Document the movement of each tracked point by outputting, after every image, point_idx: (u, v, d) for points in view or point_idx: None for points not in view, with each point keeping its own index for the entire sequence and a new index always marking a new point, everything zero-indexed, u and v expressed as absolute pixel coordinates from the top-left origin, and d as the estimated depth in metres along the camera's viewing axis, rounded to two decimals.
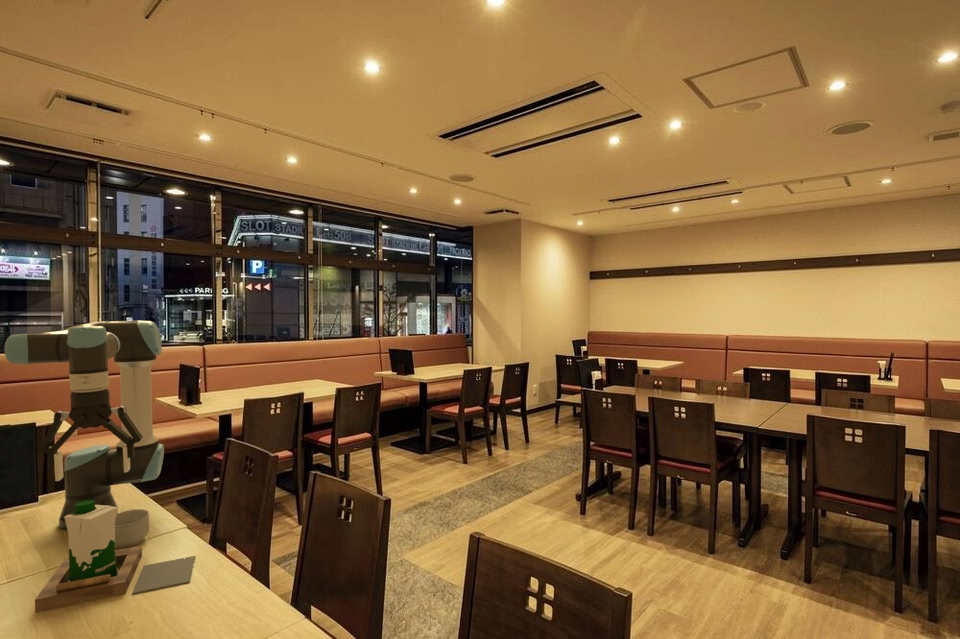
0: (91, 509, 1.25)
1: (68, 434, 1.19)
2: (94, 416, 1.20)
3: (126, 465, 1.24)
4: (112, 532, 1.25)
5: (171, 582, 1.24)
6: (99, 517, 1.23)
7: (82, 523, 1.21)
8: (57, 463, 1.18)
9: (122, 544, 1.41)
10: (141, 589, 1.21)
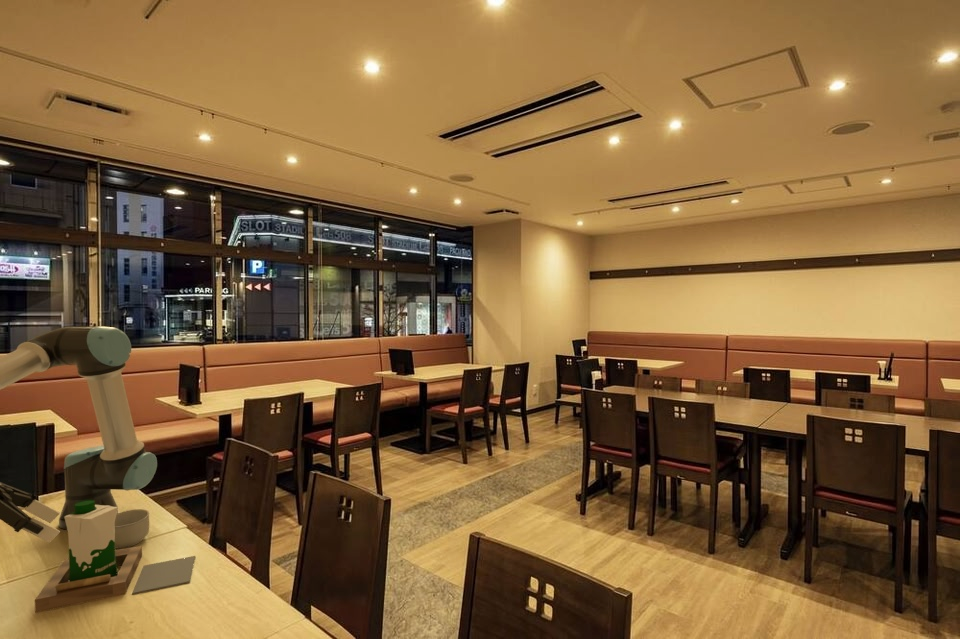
0: (91, 509, 1.25)
1: None
2: None
3: (42, 538, 1.13)
4: (112, 532, 1.25)
5: (171, 582, 1.24)
6: (99, 517, 1.23)
7: (82, 523, 1.21)
8: None
9: (122, 544, 1.41)
10: (141, 589, 1.21)
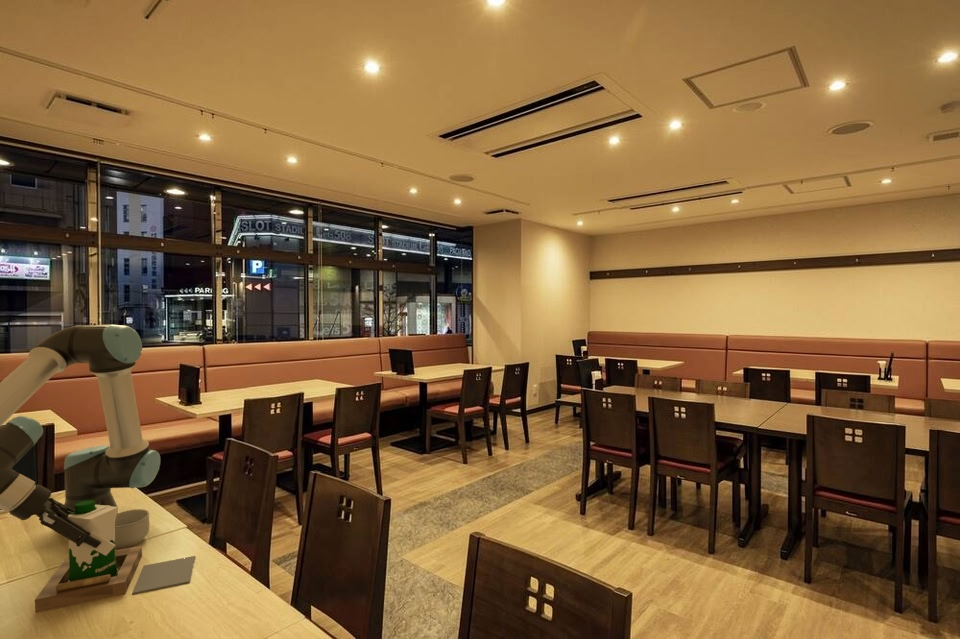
0: (91, 509, 1.25)
1: None
2: None
3: (100, 551, 1.22)
4: (112, 532, 1.25)
5: (171, 582, 1.24)
6: (99, 517, 1.22)
7: (82, 523, 1.21)
8: None
9: (122, 544, 1.41)
10: (141, 589, 1.21)
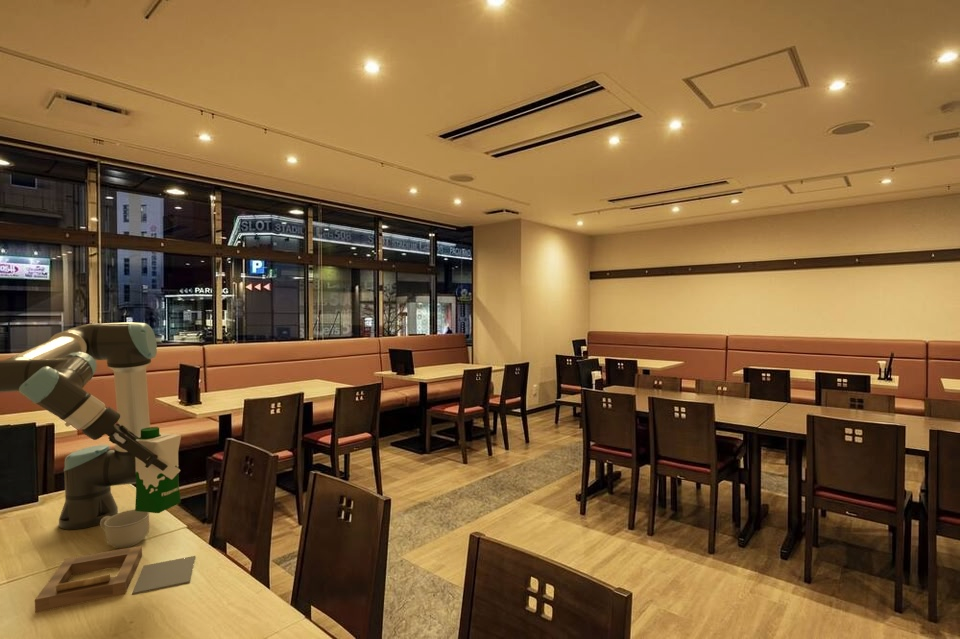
0: (156, 435, 1.27)
1: None
2: None
3: (166, 475, 1.24)
4: (176, 458, 1.27)
5: (171, 582, 1.24)
6: (165, 441, 1.24)
7: (149, 446, 1.22)
8: None
9: (122, 544, 1.41)
10: (141, 589, 1.21)
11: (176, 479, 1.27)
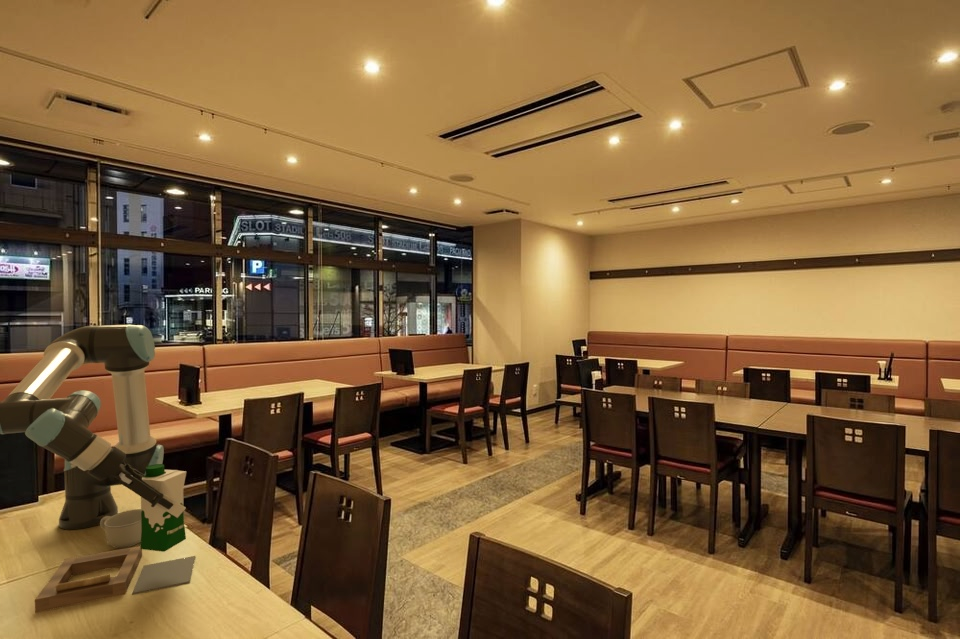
0: (161, 472, 1.27)
1: None
2: None
3: (171, 513, 1.24)
4: (182, 495, 1.27)
5: (171, 582, 1.24)
6: (170, 479, 1.25)
7: (155, 485, 1.23)
8: None
9: (122, 544, 1.41)
10: (141, 589, 1.21)
11: (181, 516, 1.27)
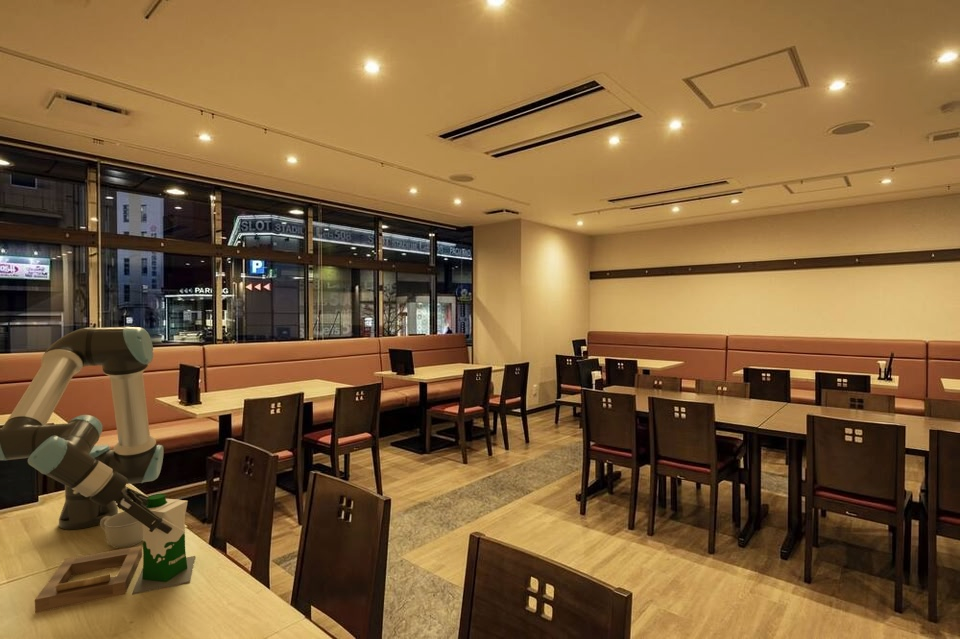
0: (163, 503, 1.27)
1: None
2: (118, 506, 1.21)
3: (170, 538, 1.23)
4: (183, 525, 1.28)
5: (171, 582, 1.24)
6: (172, 510, 1.25)
7: None
8: None
9: (122, 544, 1.41)
10: (141, 589, 1.21)
11: (183, 546, 1.28)
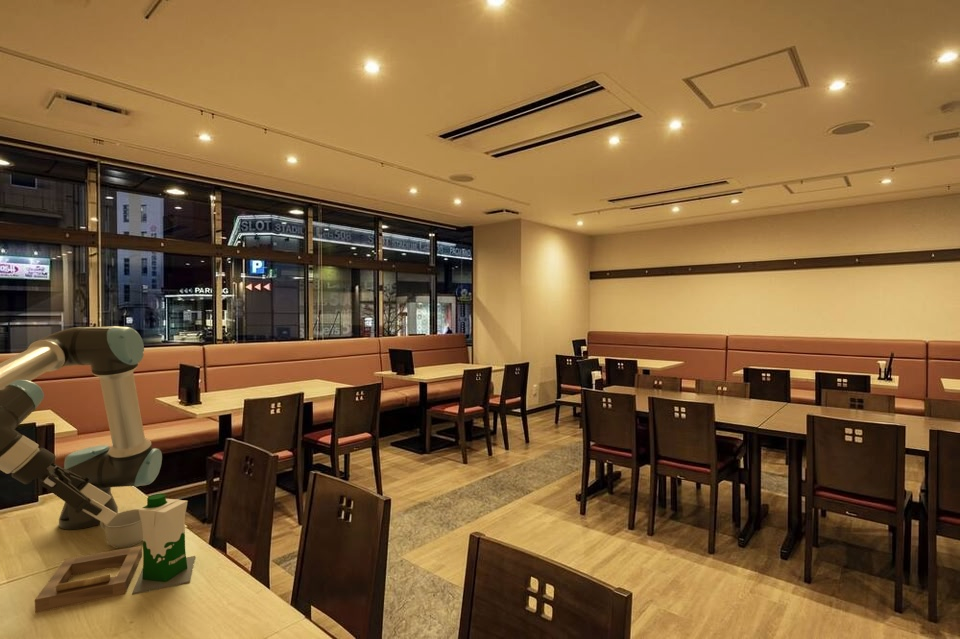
0: (163, 503, 1.27)
1: None
2: None
3: (100, 520, 1.14)
4: (183, 525, 1.28)
5: (171, 582, 1.24)
6: (172, 510, 1.25)
7: (156, 516, 1.23)
8: None
9: (122, 544, 1.41)
10: (141, 589, 1.21)
11: (183, 546, 1.28)
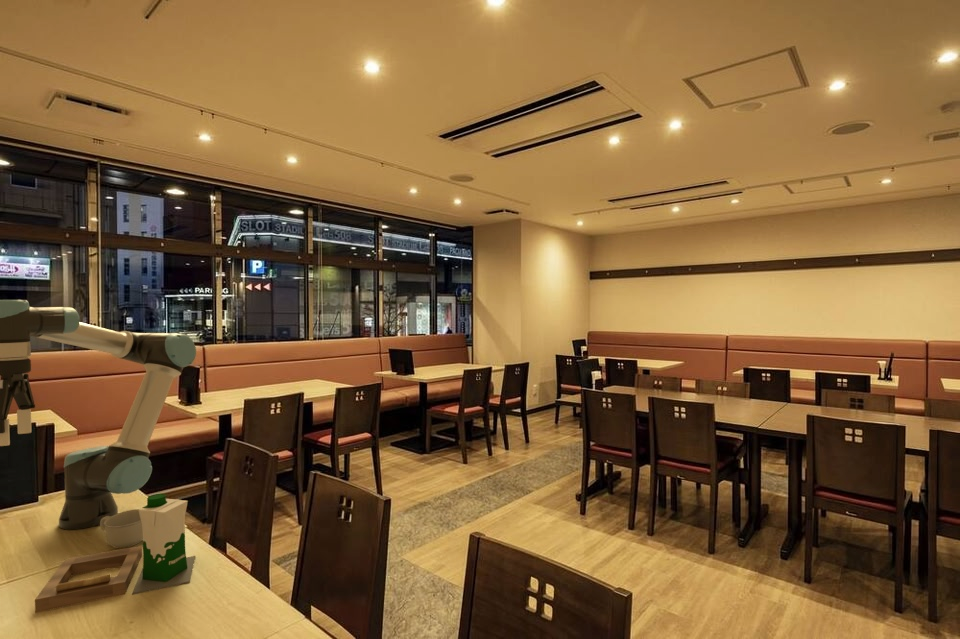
0: (163, 503, 1.27)
1: None
2: None
3: None
4: (183, 525, 1.28)
5: (171, 582, 1.24)
6: (172, 510, 1.25)
7: (156, 516, 1.23)
8: None
9: (122, 544, 1.41)
10: (141, 589, 1.21)
11: (183, 546, 1.28)
